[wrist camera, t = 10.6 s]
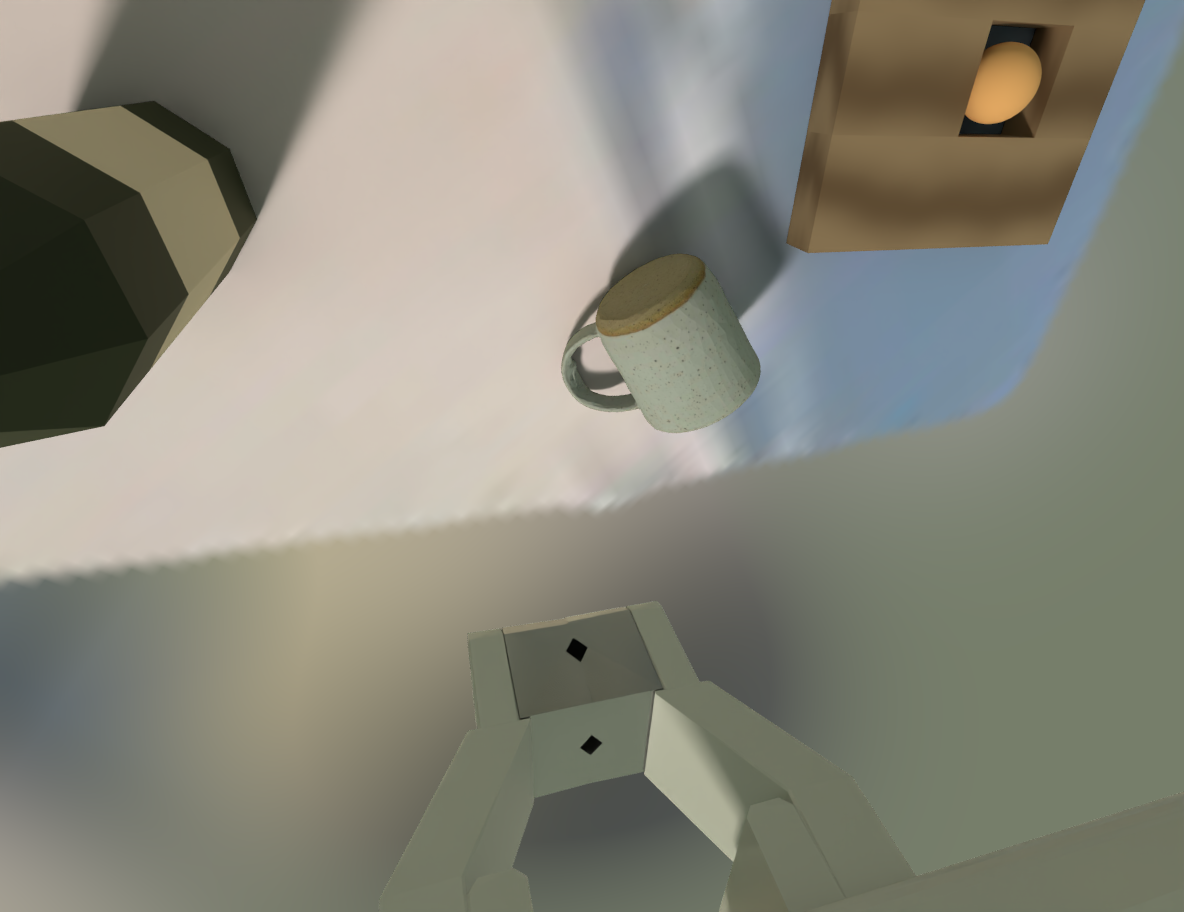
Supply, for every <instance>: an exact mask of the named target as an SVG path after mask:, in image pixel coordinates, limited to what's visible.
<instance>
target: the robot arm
mask: <svg viewBox="0 0 1184 912" xmlns="http://www.w3.org/2000/svg"><path fill="white" fill-rule="evenodd" d="M467 639H468V651H469V661H470V670H471V680H472V690H473V700H474V709H475V718H476V727H477V729H474V730H470V731H468V732H467V734H466V735H465V737H464V739H463V741H462V743H461V745H460V747H459V749H458V751H457V753H456V755H455V756H454V758H453V760H452V762H451V764H450V766H449V768H448V770H447V772H446V773H445V775H444V777H443V779H442V781H441V783H440V785H439V787H438V789H437V791H436V792H435V794H434V796H433V798H432V800H431V802H430V804H429V806H428V808H427V809H426V811H425V813H424V815H423V817H422V819H421V821H420V823H419V825H418V827H417V828H416V830H415V832H414V834H413V836H412V838H411V840H410V842H409V844H408V846H407V848H406V849H405V851H404V853H403V855H402V857H401V859H400V861H399V863H398V864H397V867H396V869H395V871H394V872H393V874H392V876H391V878H390V880H389V882H388V884H387V885H386V887H385V889H384V891H383V893H382V895H381V897H380V899H379V912H533V907H532V901H531V895H530V889H529V883H528V878H527V876H526V875H524V874H522V873H521V872H519V871H517V870H515V869H514V868H512V866H513V863H514V860H515V857H516V854H517V851H518V848H519V845H520V842H521V839H522V836H523V833H524V830H525V827H526V824H527V821H528V818H529V815H530V812H531V809H532V806H533V803H534V798H536V797H540V796H544V795H547V794H551V793H554V792H558V791H562V790H566V789H569V788H573V787H577V786H580V785H584V784H588V783H593V782H597V781H602V780H607V779H612V778H616V777H621V776H626V775H631V774H635V773H640V772H645V776H646V777H647V778H648V779H649V780H650V781H652V783H653V784H655V785H656V786H657V788H659V789H660V790H661V791H662V792H663V793H664V794H665V795H666V796H667V797H668V798H669V799H670V800H671V801H672V802H673V803H674V804H675V805H676V806H677V807H678V808H679V809H680V810H681V811H682V812H683V813H684V814H685V815H686V816H687V817H688V818H689V819H690V820H691V821H692V822H693V823H694V824H695V825H696V826H697V827H698V828H699V829H700V830H701V831H702V832H704V834H705V835H706V836H707V837H708V838H709V839H710V840H711V841H713V842H714V843H715V844H716V845H717V846H718V847H719V848H720V849H721V850H722V851H723V852H724V853H725V854H726V855H727V856H728V857H729V858H730V859H731V860H732V861H733V865H732V869H731V872H730V875H729V879H728V882H727V886H726V889H725V893H724V896H723V899H722V903H721V906H720V909H719V912H1184V792H1181V793H1178V794H1175V795H1171V796H1168V797H1165V798H1162V799H1159V800H1156V801H1152V802H1149V803H1146V804H1143V805H1140V806H1137V807H1133V808H1130V809H1127V810H1124V811H1121V812H1118V813H1114V814H1111V815H1108V816H1105V817H1102V818H1099V819H1096V820H1092V821H1089V822H1086V823H1083V824H1080V825H1076V826H1073V827H1070V828H1067V829H1064V830H1061V831H1058V832H1054V833H1051V834H1048V835H1045V836H1042V837H1039V838H1035V839H1032V840H1029V841H1026V842H1023V843H1020V844H1016V845H1013V846H1010V847H1007V848H1004V849H1000V850H997V851H994V852H991V853H988V854H985V855H981V856H978V857H975V858H972V859H969V860H966V861H963V862H959V863H956V864H953V865H950V866H947V867H944V868H941V869H937V870H934V871H931V872H928V873H925V874H922V875H918V876H916V875H915V873H914V872H913V870H912V869H911V867H910V866H909V864H908V862H907V861H906V859H905V858H904V856H903V855H902V853H901V852H900V850H899V848H898V847H897V846H896V844H895V842H894V841H893V839H892V838H891V836H890V835H889V833H888V831H887V830H886V828H885V827H884V825H883V824H882V822H881V821H880V819H879V817H878V816H877V814H876V813H875V811H874V810H873V808H872V807H871V805H870V803H869V802H868V800H867V799H866V797H865V796H864V794H863V793H862V791H861V790H860V788H859V787H858V785H857V783H856V782H855V780H854V779H853V777H852V776H851V775H849V774H848V773H846V772H845V771H843V770H842V769H840V768H839V767H837V766H836V765H834V764H833V763H831V762H830V761H828V760H827V759H825V758H824V757H822V756H821V755H819V754H818V753H816V752H815V751H813V750H812V749H810V748H809V747H807V746H806V745H804V744H803V743H801V742H800V741H798V740H797V739H796V738H794V737H792V736H791V735H790V734H788V733H787V732H785V731H784V730H782V729H781V728H779V727H778V726H776V725H774V724H773V723H772V722H770V721H769V720H767V719H766V718H764V717H763V716H761V715H760V714H758V713H757V712H755V711H754V710H752V709H751V708H749V707H748V706H746V705H745V704H743V703H742V702H740V701H739V700H737V699H736V698H734V697H733V696H731V695H730V694H728V693H727V692H725V691H724V690H722V689H721V688H719V687H718V686H716V685H715V684H713V683H712V682H710V681H704V682H699V680H698V678H697V676H696V674H695V672H694V670H693V668H692V666H691V664H690V662H689V660H688V658H687V656H686V654H685V652H684V650H683V648H682V646H681V644H680V642H679V640H678V638H677V636H676V634H675V632H674V630H673V628H672V626H671V624H670V622H669V620H668V618H667V616H666V614H665V612H664V610H663V608H662V606H661V605H660V604H659V603H658V602H656V601H653V602H648V603H643V604H637V605H631V606H626V607H619V608H614V609H608V610H603V611H597V612H593V613H587V614H581V615H576V616H570V617H566V618H563V619H557V620H550V621H543V622H536V623H530V624H524V625H516V626H510V627H502V630H501V629H493V630H486V631H480V632H473V633H468V638H467Z"/></svg>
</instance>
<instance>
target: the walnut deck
mask: <svg viewBox="0 0 1184 912" xmlns="http://www.w3.org/2000/svg"><path fill="white" fill-rule="evenodd" d="M1144 2H1145V0H832V2H831V7H830V13H829V18H828V23H827V29H826V34H825V39H824V45H823V50H822V55H821V61H820V66H819V71H818V77H817V82H816V87H815V93H814V98H813V103H812V109H811V114H810V119H809V125H808V130H807V135H806V141H805V146H804V151H803V157H802V162H801V167H800V173H799V178H798V183H797V189H796V194H795V199H794V205H793V210H792V215H791V221H790V226H789V231H788V237H787V242H786V243H787V244H789V245H791V246H794V247H796V248H798V249H800V250H802V251H805V252H807V253H819V252H846V251H874V250H901V249H928V248H955V247H983V246H1010V245H1037V244H1048V242H1049V240H1050V237H1051V235H1052V232H1053V230H1054V227H1055V225H1056V222H1057V220H1058V217H1059V215H1060V212H1061V210H1062V207H1063V205H1064V202H1065V200H1066V197H1067V195H1068V192H1069V190H1070V187H1071V185H1072V182H1073V180H1074V177H1075V175H1076V172H1077V170H1078V167H1079V165H1080V162H1081V160H1082V157H1083V155H1084V152H1085V150H1086V147H1087V145H1088V142H1089V140H1090V137H1091V135H1092V132H1093V130H1094V127H1095V125H1096V122H1097V120H1098V117H1099V115H1100V112H1101V110H1102V107H1103V105H1104V102H1105V100H1106V97H1107V95H1108V92H1109V90H1110V87H1111V85H1112V82H1113V80H1114V77H1115V75H1116V72H1117V70H1118V67H1119V65H1120V62H1121V60H1122V57H1123V55H1124V52H1125V50H1126V47H1127V45H1128V42H1129V40H1130V37H1131V35H1132V32H1133V30H1134V27H1135V25H1136V22H1137V20H1138V17H1139V15H1140V12H1141V10H1142V7H1143V5H1144ZM991 25H996V26H1011V27H1026V28H1036V30H1035V33H1034V36H1033V39H1032V42H1031V45H1030V48H1032V49H1033V50H1034V51H1035V52H1036V54H1037V55H1038V57H1039V59H1040V62H1041V68H1042V75H1041V81H1040V85H1039V87H1038V90H1037V92H1036V94H1035V95H1034V97H1033V99H1032V100H1031V101H1030V102H1029V104H1028V105H1027V106H1026V107H1025V108H1024V109H1023V110H1022V111H1020V112H1019V113H1018V114H1016V115H1015V116H1013V117H1011V118H1010V119H1007V120H1006V121H1005V124H1004V127H1003V130H1002V133H1001V134H959V132H960V128H961V125H962V122H963V118H964V115H965V112H966V108H967V105H968V102H969V98H970V95H971V92H972V89H973V85H974V82H975V79H976V75H977V72H978V69H979V65H980V62H981V59H982V55H983V52H984V49H985V45H986V42H987V39H988V35H989V32H990V29H991Z"/></svg>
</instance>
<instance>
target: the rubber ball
mask: <svg viewBox="0 0 1184 912" xmlns="http://www.w3.org/2000/svg"><path fill="white" fill-rule="evenodd" d="M1041 75H1042V68H1041V62H1040V59H1039V57H1038V55H1037V54H1036V52H1035V51H1034V50H1033V49H1032V48H1030V47H1029V46H1027V45H1025V44H1023V43H1019V42H1004V43H999V44H996V45H993V46H991V47H989V48H987V49H986V50H984V52H983V55H982V59H981V62H980V65H979V69H978V72H977V75H976V79H975V82H974V85H973V89H972V92H971V95H970V98H969V102H968V105H967V108H966V112H965V115H966V116H967V117H968V118H969V119H971V120H972V121H975V122H977V123H981V124H994V123H999V122H1003V121H1005V120H1007V119H1010V118H1011V117H1013V116H1015V115H1016V114H1018V113H1019V112H1020V111H1022V110H1023V109H1024V108H1025V107H1026V106H1027V105H1028V104H1029V102H1030V101H1031V100H1032V99H1033V97H1034V95H1035V94H1036V92H1037V90H1038V87H1039V85H1040V81H1041Z"/></svg>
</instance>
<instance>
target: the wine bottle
mask: <svg viewBox="0 0 1184 912" xmlns="http://www.w3.org/2000/svg"><path fill="white" fill-rule="evenodd" d="M256 220H257V218H256V216H255V213H254V210H253V208H252V205H251V203H250V200H249V198H248V195H247V193H246V190H245V187H244V185H243V182H242V180H241V177H240V175H239V172H238V170H237V167H236V164H235V162H234V159H233V157H232V154H231V152H230V149H229V148H227V147H226V146H224V145H222V144H221V143H219V142H218V141H216V140H215V139H213V138H211V137H210V136H208V135H207V134H205V133H204V132H202V131H200V130H199V129H197V128H196V127H194V126H193V125H191V124H189V123H188V122H186V121H185V120H183V119H182V118H180V117H178V116H177V115H175V114H174V113H172V112H171V111H169V110H167V109H166V108H164V107H163V106H161V105H160V104H158V103H156V102H155V101H151V102H143V103H136V104H128V105H121V106H113V107H106V108H98V109H91V110H83V111H76V112H68V113H61V114H54V115H46V116H39V117H32V118H24V119H17V120H10V121H3V122H0V448H1V447H6V446H11V445H15V444H20V443H25V442H30V441H35V440H40V439H44V438H49V437H54V436H59V435H64V434H68V433H73V432H78V431H83V430H88V429H93V428H97V427H102V426H105V425H106V423H107V422H108V421H109V420H110V418H111V417H112V416H113V415H114V413H115V412H116V411H117V410H118V409H119V407H120V406H121V405H122V404H123V402H124V401H125V400H126V399H127V397H128V396H129V395H130V394H131V393H132V391H133V390H134V389H135V388H136V386H137V385H138V384H139V383H140V381H141V380H142V379H143V378H144V377H145V375H146V374H147V373H148V372H149V370H150V369H151V368H152V367H153V365H154V364H155V363H156V362H157V360H158V359H159V358H160V357H161V356H162V354H163V353H164V352H165V351H166V349H167V348H168V347H169V346H170V344H171V343H172V342H173V341H174V340H175V338H176V337H177V336H178V335H179V333H180V332H181V331H182V330H183V328H184V327H185V326H186V325H187V324H188V322H189V321H190V320H191V319H192V317H193V316H194V315H195V314H196V312H197V311H198V310H199V309H200V308H201V306H202V305H203V304H204V303H205V301H206V300H207V299H208V298H209V296H210V295H211V294H212V293H213V292H214V290H215V289H216V288H217V287H218V285H219V284H220V283H221V282H222V280H223V279H224V278H225V277H226V276H227V274H228V273H229V271H230V270H231V268H232V266H233V264H234V262H235V260H236V258H237V256H238V254H239V253H240V251H241V249H242V247H243V245H244V243H245V241H246V239H247V237H248V235H249V234H250V232H251V230H252V228H253V226H254V224H255V222H256Z"/></svg>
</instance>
